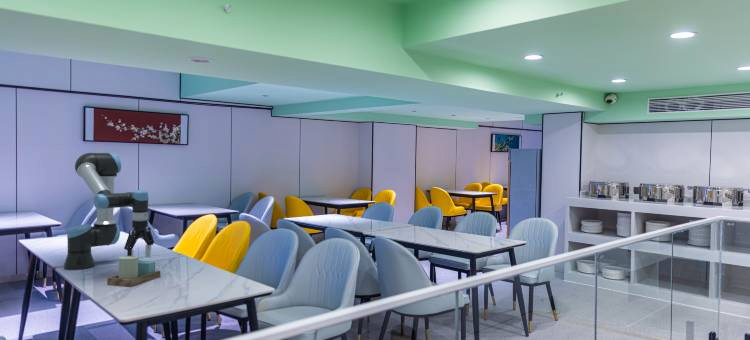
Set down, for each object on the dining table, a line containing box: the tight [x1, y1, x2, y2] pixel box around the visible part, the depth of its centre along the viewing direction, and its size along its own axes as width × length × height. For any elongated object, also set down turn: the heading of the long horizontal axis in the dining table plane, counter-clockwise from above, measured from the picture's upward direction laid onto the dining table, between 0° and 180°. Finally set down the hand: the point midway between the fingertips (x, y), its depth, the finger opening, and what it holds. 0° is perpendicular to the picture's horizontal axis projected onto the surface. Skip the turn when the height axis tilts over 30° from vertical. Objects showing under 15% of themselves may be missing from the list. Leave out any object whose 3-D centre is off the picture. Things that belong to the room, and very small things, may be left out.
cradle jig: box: [106, 270, 161, 288], centre depth 269 cm, size 14×22×3 cm, turn 166°
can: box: [118, 255, 139, 280], centre depth 265 cm, size 9×9×12 cm
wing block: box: [138, 260, 156, 276], centre depth 276 cm, size 10×5×7 cm, turn 76°
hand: (139, 259), depth 278 cm, fingers open, 13 cm apart
